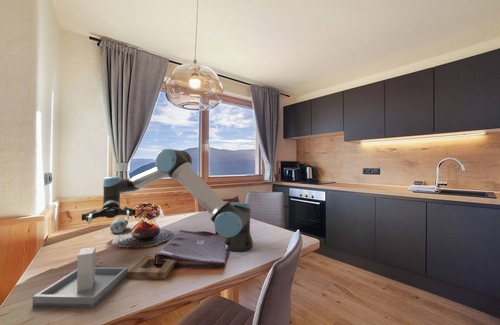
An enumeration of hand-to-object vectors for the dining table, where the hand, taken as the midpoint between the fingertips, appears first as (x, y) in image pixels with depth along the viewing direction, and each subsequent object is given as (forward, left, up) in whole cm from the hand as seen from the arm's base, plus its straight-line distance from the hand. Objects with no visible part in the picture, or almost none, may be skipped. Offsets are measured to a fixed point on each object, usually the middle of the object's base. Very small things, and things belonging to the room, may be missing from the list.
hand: (109, 218), depth 89 cm
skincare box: (-3, +17, -19) cm, 25 cm away
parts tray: (-3, +17, -20) cm, 26 cm away
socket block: (-20, +3, -20) cm, 28 cm away
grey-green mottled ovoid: (+22, -43, -20) cm, 52 cm away
